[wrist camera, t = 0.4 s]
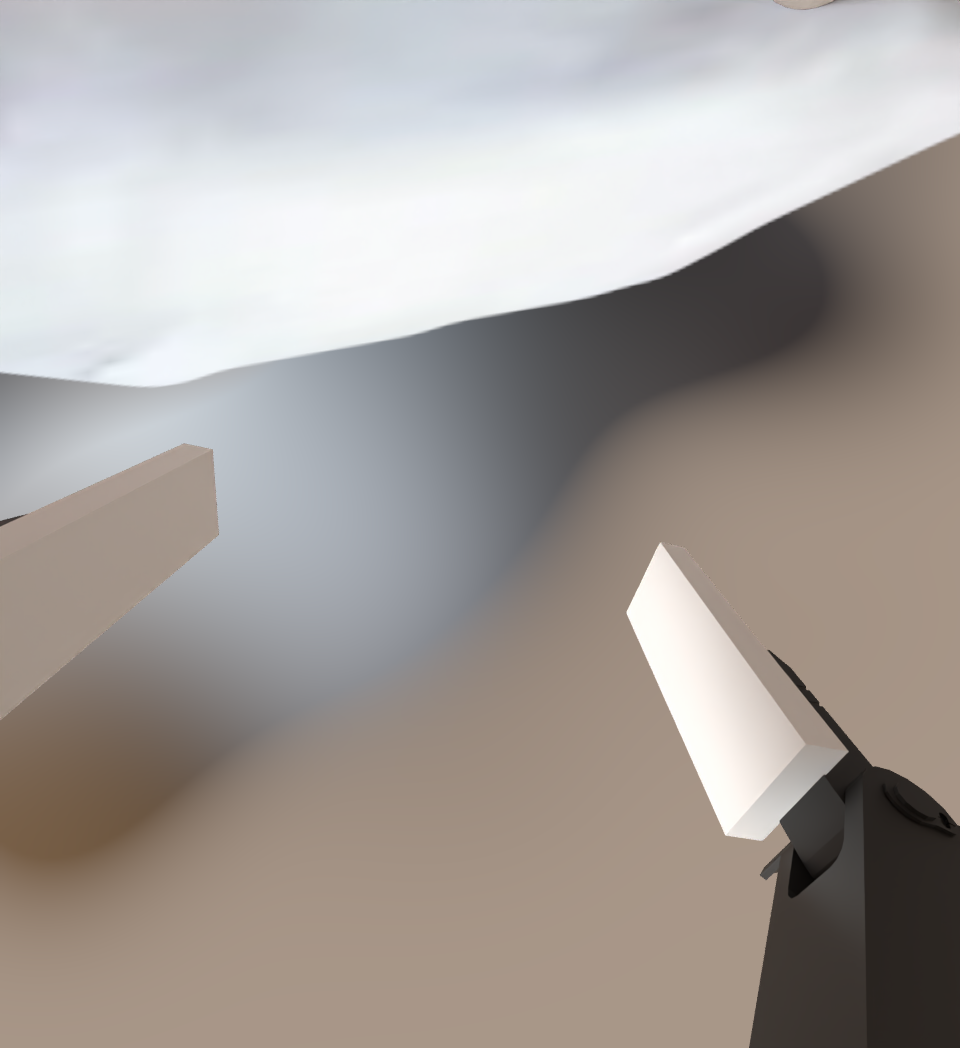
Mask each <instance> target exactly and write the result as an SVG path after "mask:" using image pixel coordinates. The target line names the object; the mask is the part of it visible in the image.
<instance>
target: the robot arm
mask: <svg viewBox="0 0 960 1048" xmlns="http://www.w3.org/2000/svg"><path fill="white" fill-rule="evenodd" d="M218 535H219V529H218V516H217V502H216V489H215V476H214V462H213V450H212V449H208V448H203V447H199V446H194V445H189V444H182V445H180V446H177V447H175V448H173V449H171V450H168V451H166V452H164V453H162V454H160V455H157V456H155V457H153V458H151V459H149V460H146V461H144V462H142V463H140V464H138V465H135V466H133V467H131V468H129V469H127V470H124V471H122V472H120V473H118V474H116V475H113V476H111V477H109V478H107V479H104V480H102V481H100V482H98V483H96V484H93V485H91V486H89V487H87V488H84V489H82V490H80V491H78V492H76V493H73V494H71V495H69V496H67V497H65V498H63V499H60V500H58V501H56V502H54V503H51V504H49V505H47V506H45V507H42V508H40V509H38V510H36V511H34V512H31V513H29V514H25V515H22V516H18V517H14V518H10V519H6V520H2V521H0V720H1V719H2V718H3V717H5V716H6V715H7V714H8V713H9V712H10V711H12V710H13V709H14V708H15V707H16V706H18V705H19V704H20V703H21V702H22V701H23V700H25V699H26V698H27V697H28V696H29V695H30V694H32V693H33V692H34V691H35V690H36V689H38V688H39V687H40V686H41V685H42V684H43V683H45V682H46V681H47V680H48V679H49V678H51V677H52V676H53V675H54V674H55V673H56V672H58V671H59V670H60V669H61V668H62V667H64V666H65V665H66V664H67V663H68V662H69V661H71V660H72V659H73V658H74V657H75V656H76V655H78V654H79V653H80V652H81V651H82V650H83V649H85V648H86V647H87V646H88V645H89V644H90V643H92V642H93V641H94V640H95V639H97V638H98V637H99V636H100V635H101V634H102V633H103V632H105V631H106V630H107V629H108V628H110V627H111V626H112V625H113V624H114V623H115V622H117V621H118V620H119V619H120V618H121V617H122V616H124V615H125V614H126V613H127V612H128V611H129V610H131V609H132V608H133V607H134V606H135V605H137V604H138V603H139V602H140V601H141V600H143V599H144V598H145V597H146V596H147V595H148V594H150V593H151V592H152V591H153V590H154V589H155V588H156V587H158V586H159V585H160V584H161V583H163V582H164V581H165V580H166V579H167V578H168V577H170V576H171V575H172V574H173V573H174V572H175V571H176V570H178V569H179V568H180V567H181V566H183V565H184V564H185V563H186V562H187V561H189V560H190V559H191V558H192V557H193V556H194V555H196V554H197V553H198V552H199V551H200V550H201V549H203V548H204V547H205V546H206V545H207V544H208V543H210V542H211V541H212V540H213V539H214V538H216V537H217V536H218ZM627 615H628V617H629V620H630V622H631V624H632V626H633V628H634V631H635V633H636V635H637V638H638V640H639V642H640V644H641V646H642V649H643V651H644V653H645V656H646V658H647V660H648V662H649V664H650V667H651V669H652V671H653V673H654V676H655V678H656V680H657V682H658V685H659V687H660V689H661V691H662V693H663V696H664V698H665V700H666V703H667V705H668V707H669V709H670V711H671V714H672V716H673V718H674V721H675V723H676V725H677V727H678V730H679V732H680V734H681V736H682V738H683V741H684V743H685V745H686V747H687V750H688V752H689V754H690V756H691V759H692V761H693V763H694V765H695V768H696V770H697V772H698V774H699V777H700V779H701V781H702V783H703V785H704V788H705V790H706V792H707V795H708V797H709V799H710V801H711V804H712V806H713V808H714V810H715V813H716V814H717V817H718V819H719V822H720V824H721V826H722V828H723V830H724V833H725V835H727V836H734V837H741V838H747V839H754V840H761V841H763V840H764V838H766V837H767V836H768V835H769V833H770V832H771V831H772V830H773V829H774V828H775V827H776V826H777V825H778V824H779V823H781V825H782V827H783V829H784V830H785V832H786V834H787V836H788V837H789V839H790V841H791V842H790V843H789V844H788V845H787V846H786V847H785V848H784V849H783V850H782V851H781V852H780V853H779V854H777V855H776V856H775V857H774V858H773V859H772V860H771V861H770V862H769V863H768V864H767V865H766V866H765V867H764V869H763V871H762V872H761V874H760V876H762V877H763V878H764V879H766V880H767V879H768V878H769V877H770V876H771V875H772V874H773V873H777V872H778V876H777V881H776V887H775V894H774V900H773V906H772V912H771V918H770V924H769V930H768V936H767V942H766V948H765V955H764V961H763V967H762V973H761V979H760V985H759V991H758V997H757V1003H756V1009H755V1016H754V1021H753V1028H752V1034H751V1040H750V1046H749V1048H960V826H958V825H957V824H956V823H955V822H954V820H953V819H952V818H951V817H950V816H949V814H948V813H947V812H946V811H945V809H944V808H943V807H942V806H940V805H939V804H938V803H937V802H936V801H935V800H934V799H933V798H932V797H931V796H929V795H928V794H927V793H926V792H925V791H924V790H922V789H921V788H919V787H918V786H916V785H915V784H914V783H912V782H911V781H909V780H908V779H906V778H904V777H902V776H900V775H898V774H896V773H894V772H892V771H890V770H887V769H883V768H880V767H873V766H872V765H871V764H870V763H869V762H868V761H867V759H866V758H865V757H864V756H863V755H862V753H861V752H860V751H859V750H858V748H857V747H856V746H855V745H854V744H853V742H852V741H851V740H850V739H849V738H848V736H847V735H846V734H845V733H844V732H843V730H842V729H841V728H840V727H839V726H838V724H837V723H836V722H835V721H834V720H833V718H832V717H831V716H830V715H829V714H828V712H827V711H826V710H825V709H824V708H823V707H822V706H819V701H818V700H817V699H816V698H815V697H814V695H813V694H812V693H811V692H810V691H809V690H806V686H805V685H804V683H803V682H802V681H801V680H800V679H799V678H798V676H797V675H796V674H795V673H794V671H793V670H792V669H791V668H790V667H789V666H788V665H787V664H785V663H784V662H783V661H782V660H780V659H779V658H778V657H777V656H776V655H774V654H773V653H772V652H771V651H770V650H767V649H766V648H765V647H764V646H763V644H762V643H761V642H760V641H759V639H758V638H757V637H756V636H755V634H753V632H752V631H751V630H750V628H749V627H748V626H747V625H746V623H745V622H744V621H743V620H742V618H741V617H740V616H739V615H738V614H737V612H736V611H735V610H734V608H733V607H732V606H731V605H730V603H729V602H728V601H727V600H726V599H725V597H724V596H723V595H722V594H721V592H720V591H719V590H718V589H717V587H716V586H715V585H714V584H713V583H712V581H711V580H710V579H709V577H708V576H707V575H706V574H705V572H704V571H703V570H702V569H701V567H700V566H699V565H698V564H697V562H696V561H695V560H694V559H693V558H692V556H691V555H690V554H689V553H688V551H687V550H686V549H685V548H684V547H682V546H676V545H672V544H667V543H663V542H660V543H659V545H658V548H657V550H656V552H655V554H654V556H653V558H652V560H651V563H650V564H649V566H648V569H647V571H646V573H645V575H644V577H643V579H642V581H641V583H640V585H639V588H638V590H637V592H636V594H635V596H634V598H633V600H632V602H631V604H630V606H629V608H628V611H627Z"/></svg>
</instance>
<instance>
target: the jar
mask: <svg viewBox="0 0 960 1048" xmlns="http://www.w3.org/2000/svg"><path fill="white" fill-rule="evenodd" d="M773 1H775V2H776V3H778V4H780V5H782V6H784V7H788V8H792V9H811V8H816V7H819V6H823V5H826V4H828V3H830V2H832V1H834V0H773Z"/></svg>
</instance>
